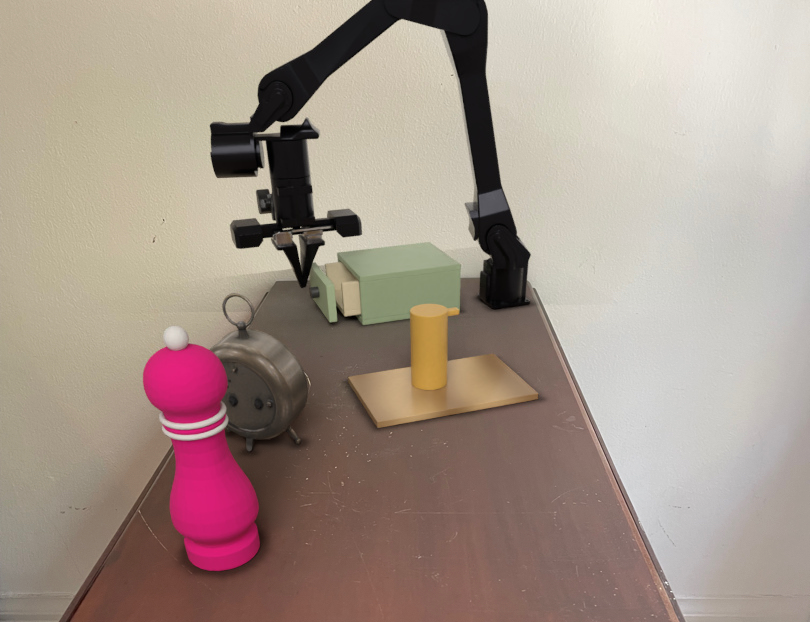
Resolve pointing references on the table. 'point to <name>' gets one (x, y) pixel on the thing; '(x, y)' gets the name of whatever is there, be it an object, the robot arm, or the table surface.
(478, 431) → the table surface
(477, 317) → the table surface
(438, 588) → the table surface
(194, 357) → the pepper mill
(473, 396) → the board
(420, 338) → the yellow cylinder
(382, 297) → the cabinet
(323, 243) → the robot arm
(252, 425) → the alarm clock
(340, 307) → the drawer
